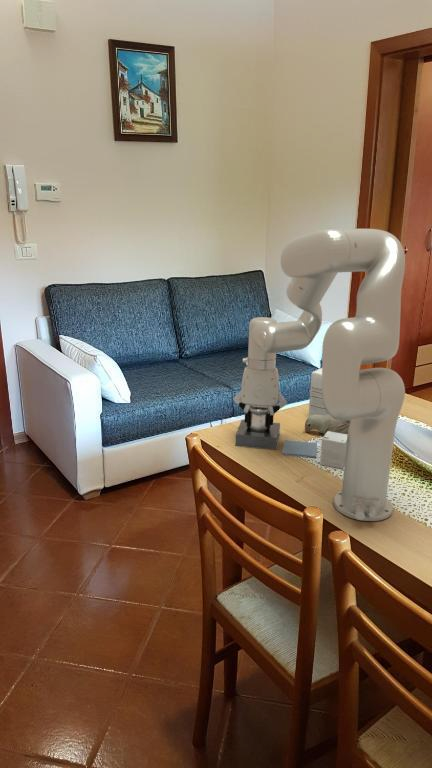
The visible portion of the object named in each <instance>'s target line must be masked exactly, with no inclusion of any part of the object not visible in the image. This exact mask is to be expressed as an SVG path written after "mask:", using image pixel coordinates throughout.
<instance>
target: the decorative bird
mask: <svg viewBox="0 0 432 768" xmlns="http://www.w3.org/2000/svg"><path fill="white" fill-rule="evenodd" d="M308 416H309V415H308ZM350 422H351V420H347V421H339V420H336V419H334V418H332V417H331V416H330V415H318V414H317V415H311V416H309V417H307V418H306V420H305V423H304V430H305V433H308V432H311V431H317V432H319V433H320V434H323V435H325V434H326V433H327V431H330V432H336V433H341V434H347V435H348V429H349V425H350Z"/></svg>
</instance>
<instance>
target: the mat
mask: <svg viewBox="0 0 432 768" xmlns="http://www.w3.org/2000/svg"><path fill="white" fill-rule="evenodd" d="M317 451H318V442H313V441H299V440H289V439H284V442H283V447H282V453H281V455H283V456H288V457H289V456H290V457H298V458H299V457H301V458H309V459H310V458H311V459H317V455H318V452H317Z"/></svg>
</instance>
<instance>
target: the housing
mask: <svg viewBox="0 0 432 768" xmlns="http://www.w3.org/2000/svg"><path fill="white" fill-rule="evenodd" d="M280 429H281V423H280V422H273V425H271V426H270V429H268V428H267V433H256V432H249V431H250V425H249V427H247V423H245V419H241V420H240V423H239V425H238V428H237V430H236V432H235V441H234V442H235V443H234V445H235V447H242V446H244V447H243V448H252V449H253V448H254V449H264V450H273V451H275V450H277V448H278V443H279V438H280V434H281V433H280V432H281V430H280Z"/></svg>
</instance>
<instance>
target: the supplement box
mask: <svg viewBox="0 0 432 768" xmlns="http://www.w3.org/2000/svg"><path fill="white" fill-rule="evenodd" d="M317 414H318V415H329V414H328V413H327V411H326V409H325V407H324V403H323V398H322V367H320V368H319V369H316V370H314V371H311V376H310V390H309V404H308V417H309V416H311V415H317ZM308 417H307V418H308Z"/></svg>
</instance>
